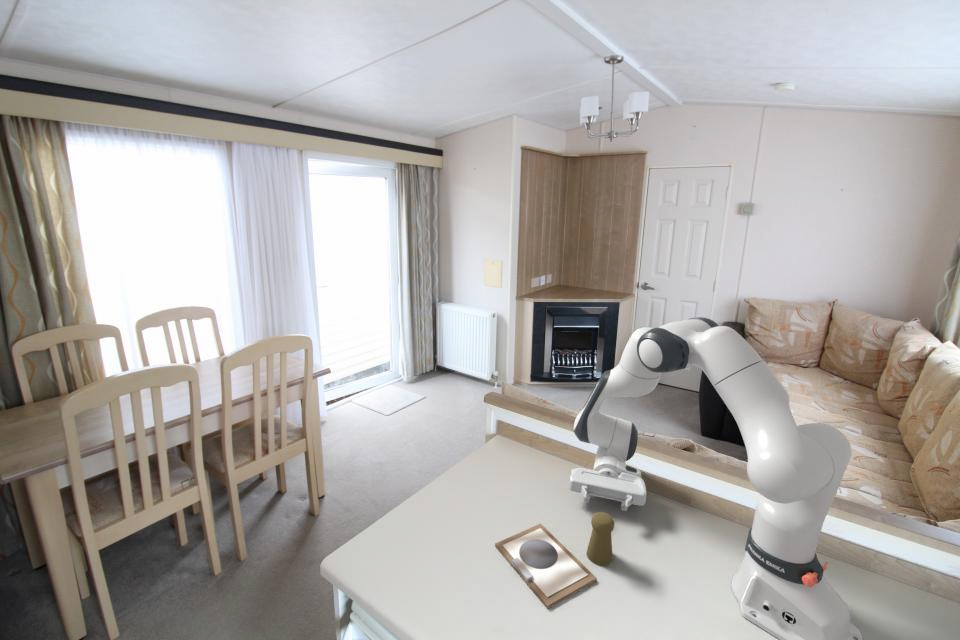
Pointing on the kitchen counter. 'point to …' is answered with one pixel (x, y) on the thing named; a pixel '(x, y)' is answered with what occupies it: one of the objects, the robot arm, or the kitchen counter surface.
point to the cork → (601, 539)
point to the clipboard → (545, 565)
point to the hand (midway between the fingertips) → (605, 504)
